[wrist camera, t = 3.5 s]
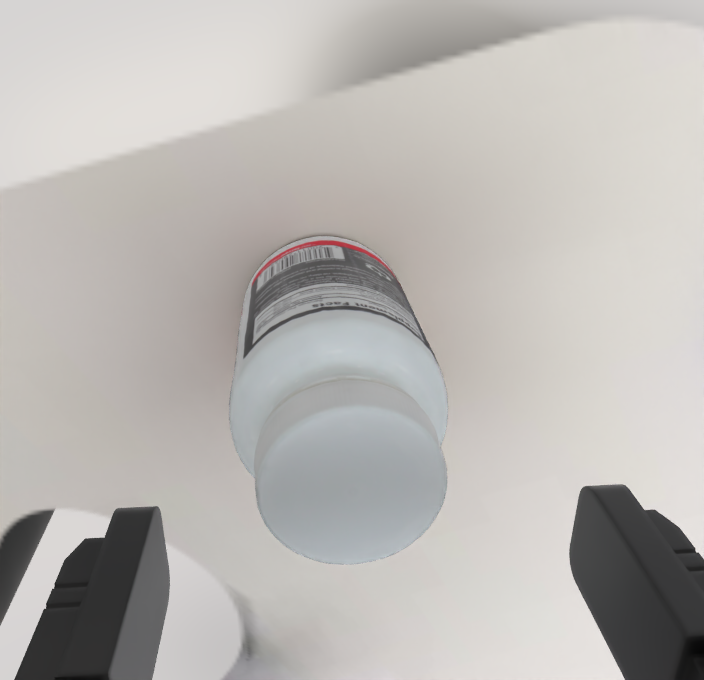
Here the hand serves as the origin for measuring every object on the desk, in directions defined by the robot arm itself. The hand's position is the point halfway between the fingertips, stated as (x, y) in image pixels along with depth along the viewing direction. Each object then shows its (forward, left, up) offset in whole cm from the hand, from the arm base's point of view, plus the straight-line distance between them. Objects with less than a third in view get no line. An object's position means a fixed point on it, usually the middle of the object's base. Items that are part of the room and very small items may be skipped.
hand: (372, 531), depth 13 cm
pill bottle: (0, 0, -11) cm, 11 cm away
